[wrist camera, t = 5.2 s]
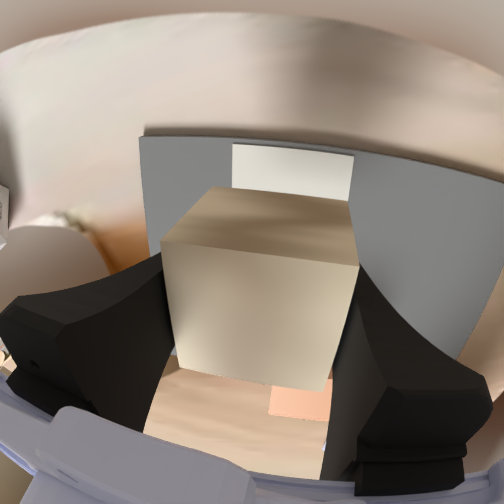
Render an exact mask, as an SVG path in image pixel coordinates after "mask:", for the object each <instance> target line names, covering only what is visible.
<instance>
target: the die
mask: <svg viewBox="0 0 504 504" xmlns="http://www.w3.org/2000/svg"><path fill="white" fill-rule="evenodd" d="M8 205H9V189H8V188H6V187H4V186H2V185H0V250H1V249H2V248H3V247H4V245H5V244H6V243H7V237H8Z"/></svg>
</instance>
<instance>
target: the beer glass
mask: <svg viewBox="0 0 504 504" xmlns="http://www.w3.org/2000/svg"><path fill="white" fill-rule="evenodd" d="M11 358H12V357H11V355H10V354H9V352H8V350H7V348H6V347H5V345H4V343H3V341H2V339H1V337H0V369H1V367H2V366H3V365H4V364H5V363H6V362H7V361H8V360H10V359H11Z"/></svg>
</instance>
